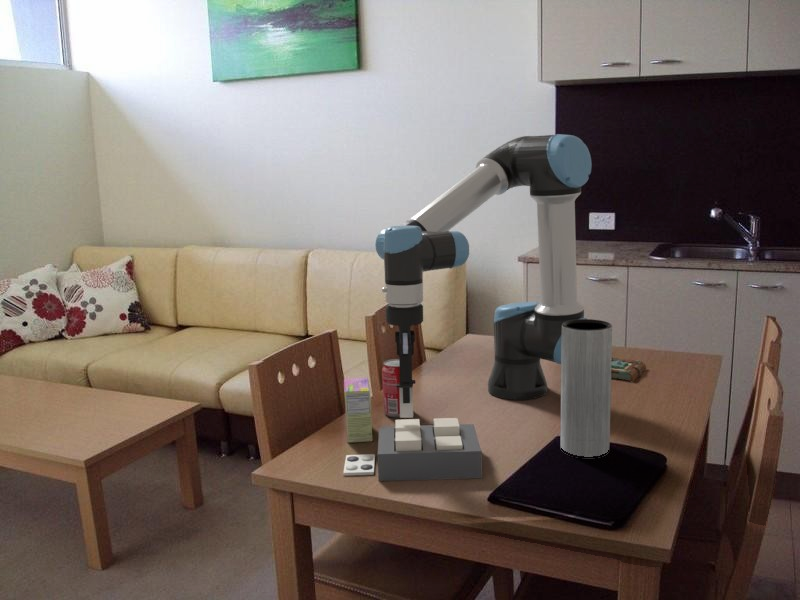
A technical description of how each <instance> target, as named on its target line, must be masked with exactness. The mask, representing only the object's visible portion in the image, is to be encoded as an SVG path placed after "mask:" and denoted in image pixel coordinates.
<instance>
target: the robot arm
mask: <svg viewBox="0 0 800 600" xmlns="http://www.w3.org/2000/svg"><path fill="white" fill-rule="evenodd" d="M591 173H592V157H591V153H590V151H589V148H588V146H587V145H586V143H584V141H583V140H582V139H581V138H580V137H578V136H575V135H574V134H573V135H571V134H564V133H563V134H561V133H557V134H549V135H548V134H546V135H545V134H544V135H524V136H519V137H516V138H514V139H510V140H509V141H507V142H505V143H503V144H502V145H501V146H498V147H497V148H495V149H493V150H492V151H490V152H489V153H488V154H486V155H485V156H484V157H482V158H481V159H480V160H478V162H477V163H476V165H475V168H474V169H473V170H472V171H471V172H470V173H468V174H467V175H465V176H464V177H463V178H461V179H460V180H459V181H458V182H456V183H455V184H454V185H453V186H451V187H450V188H449V189H447V190H445V192H443V193H442V194H441V195H439V196H438V197H437V198H435V199H434V200H432V201H431V202H430V203H428V205H426V206H424V208H422V209H421V210H419V211H418V212H417V213H415V214H414V215H412V216H411V217H410V218H408V219H407V220H406V221H405V222H403V223H402V224H401V225H391V226H389V227H387V228H384V229H382V230H381V231H379V233H378V234H377V236H376V239H375V247H374V248H375V250H376V253H377V255H378V257H379V258H380V259H382V260H383V261H384V262H383V263H384V264H383V265H384V266H383V267H384V285H385V287H382V289H381V291H382V293H385V303H387V304H386V306H385V322H386V323H387V325H390V326H394V327H395V326H397V327H398V328H399V330H395V331H394V339H395V340H394V342H395V343H396V354H397V356H398V359H399V364H400V374H399V378H400V380H399V382H400V383H399V384H396V388H399V393H400V419H402V418H404V419H407V418H409V419H414V389H413V388H414V387H413V386H414V385H416V379H413V357H412V356H414V354H415V348H414V347H415V346H414V344H415V341H416V334H415V330H414V329H413V330H411V327H413V326H417V325H421V324H422V323H423V322H424V305H423V304H422V302H423V301H424V280H423V277H424V276H423V275H424V272H428V271H429V272H430V271H436V270H437V271H438V270H444V269H453V268H456V267H457V268H458V267H461V266H463V265H464V264H465V263H466V262H467V261H468V258H469V255H470V243H469V241H468V239H467V237H466V235H464V233H462V232H460V231H457V230H455V231H453V230H452V231H451V229H453V228H454V227H455V226H456V225H458V224H460V222H461V221H464V219H466V218H467V217H468V216H469V215H471V214H472V213H473V212H475V211H476V210H477V209H479V208H480V207H481V206H483V205H484V204H485V203H486V202H487V201H489V200H490V199H491V198H493V197H494V196H495V195H496V196H499V195H502V194H504V193H505V192H507V191H508V190H510V189H513V188H517V187H524V186H526V187H529V197H530V198H532V200H534V201H535V202H536V208H537V209H536V210H537V211H536V212H537V215H536V216H537V236H538V243H537V244H538V265H539V266H538V268H539V291H540V292H539V294H540V296H539V297H540V302H535V301H526V302H524V301H522V302H513V303H507V304H503V305H500V306H498V307H496V308H495V311H494V317H493V318H494V321H493V343H494V344H493V345H494V347H493V348H494V363H493V366H492V369H491V372H490V375H489V379H488V381H487V391H488V393H489V394H490V395H492V396H494V397H496V398H500V399H501V398H502V399H504V400H505V399H507V400H515V401H516V400H519V401H520V400H521V401H523V400H532V399H536V398H537V399H538V398H541V397H543V396H544V395H546V394H547V392H548V384H547V380H546V377H545V374H544V370H543V367H542V365H541V364H542V363H541V360H545V361H548V362H552V363H556V364H559V365H561V343H562V324H563V323H564V322H566V321H569V320H576V319H588V318H586V317H585V308H584V306H583V305H582V303H581V302H579V301H578V287H577V285H578V283H577V280H578V279H577V247H576V245H577V243H576V242H577V241H576V240H577V239H576V208H575V207H576V204H575V203H576V202H575V201H576V199H577V198H578V197H579V196H580V195H581V194H582V186H584V185H585V184H586V183H587V182H588V180H589V178H590V177H589V176H590V175H591Z"/></svg>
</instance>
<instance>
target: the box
mask: <svg viewBox="0 0 800 600" xmlns="http://www.w3.org/2000/svg"><path fill="white" fill-rule="evenodd" d="M343 391H344V392H343V394H344V407H345V408H344V409H345V425H346V428H345V429H346V442H347V443H348V444H349V443H363V442H373V426H372V425H373V423H372V404H371V403H372V402H371V388H370V383H369V378H368V377H355V378H354V377H353V378H352V377H351V378H344V379H343Z"/></svg>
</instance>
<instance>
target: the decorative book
mask: <svg viewBox="0 0 800 600" xmlns="http://www.w3.org/2000/svg"><path fill="white" fill-rule="evenodd" d="M645 369H646V370H647V365H646V364H645V363H644V362H643V361H642V360H640V359H637V360H634V359H633V360H630V359H623V358H622V359H621V358H618V357H612V361H611V379H617V378H618V380H624V379H625V381H626V380H627V381H630V382H631V381H632V382H631V383H633V382H634V381H635V380H636V379H638V377H641V376H642V375H643V373H644V372H645V371H646V370H645ZM644 370H645V371H644ZM643 371H644V372H643ZM642 372H643V373H642ZM641 374H642V375H641Z"/></svg>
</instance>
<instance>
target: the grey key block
mask: <svg viewBox="0 0 800 600" xmlns="http://www.w3.org/2000/svg"><path fill="white" fill-rule="evenodd" d="M459 427H460V436H461V441H462V445H463V449H456V450H436V437H434V424H432V425H431V424H428V425H425V424H423V425H420V432H421V450H422V451H396V442H395V432H396V430H395V425H393V426H379V427H378V441H377V474H378V475H377V477H378V482H389V481H392V482H393V481H394V482H395V481H423V480H424V481H425V480H452V479H453V480H457V479H482V477H483V472H482V464H483V462H482V460H483V459H482V458H483V457H482V449H481V444H480V441H479V438H478V434H477V432H476V427H475V424H474V423H463V424H461V423H459Z"/></svg>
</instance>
